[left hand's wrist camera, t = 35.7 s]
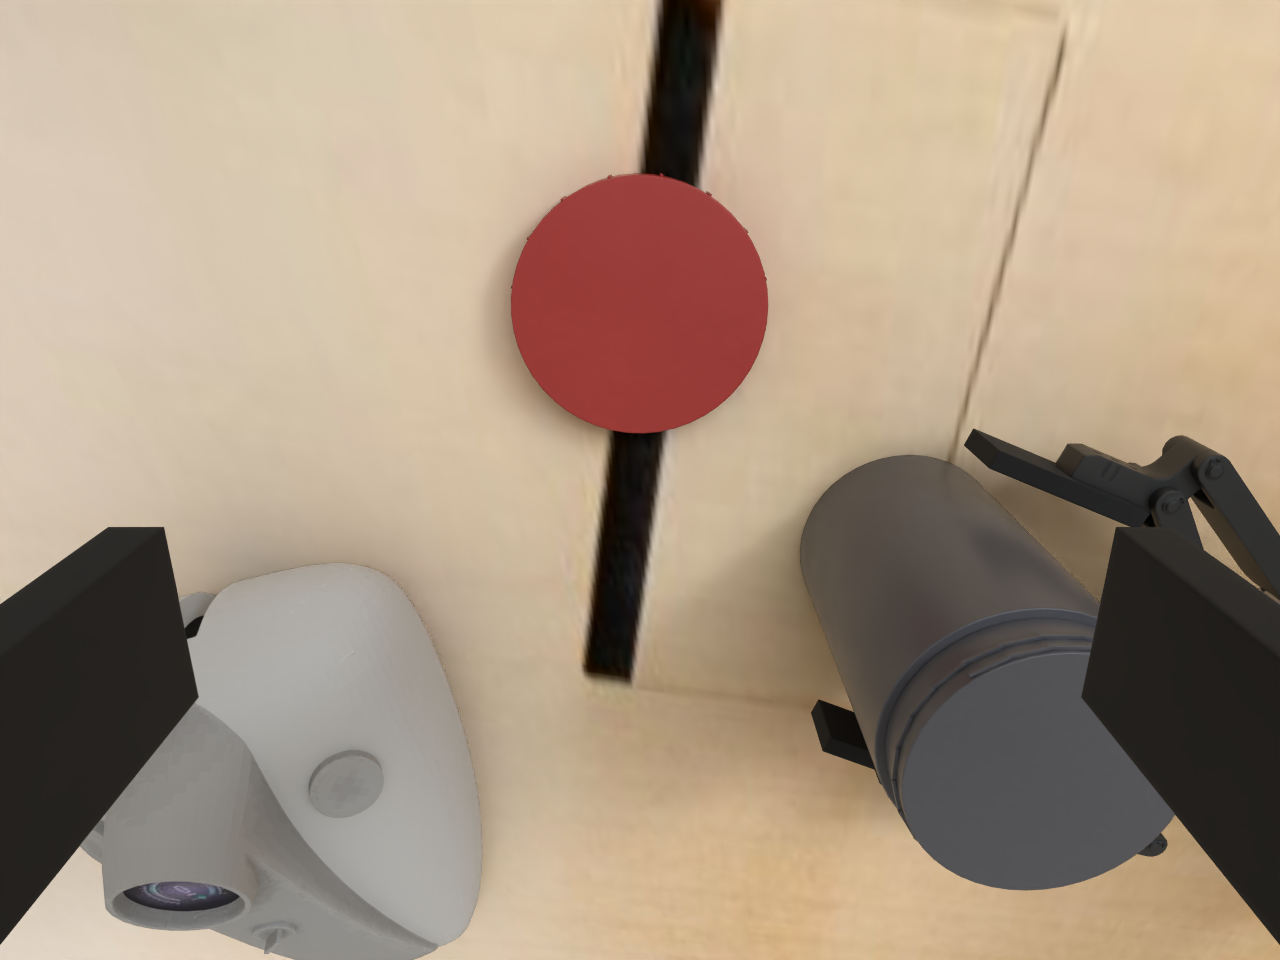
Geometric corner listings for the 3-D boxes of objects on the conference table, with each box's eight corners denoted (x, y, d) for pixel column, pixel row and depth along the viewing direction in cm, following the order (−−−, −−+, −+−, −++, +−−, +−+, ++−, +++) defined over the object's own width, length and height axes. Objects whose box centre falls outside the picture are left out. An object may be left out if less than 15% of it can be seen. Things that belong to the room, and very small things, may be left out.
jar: (1029, 580, 43) (1247, 823, 27) (852, 665, 44) (964, 939, 29) (951, 418, 40) (1146, 588, 25) (765, 515, 42) (838, 732, 26)
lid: (468, 306, 38) (458, 316, 36) (633, 116, 35) (633, 114, 33) (644, 463, 41) (644, 480, 39) (811, 296, 38) (821, 305, 36)
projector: (57, 810, 47) (-180, 1081, 34) (175, 445, 40) (-65, 600, 26) (443, 948, 51) (371, 1243, 37) (616, 633, 44) (605, 857, 30)
